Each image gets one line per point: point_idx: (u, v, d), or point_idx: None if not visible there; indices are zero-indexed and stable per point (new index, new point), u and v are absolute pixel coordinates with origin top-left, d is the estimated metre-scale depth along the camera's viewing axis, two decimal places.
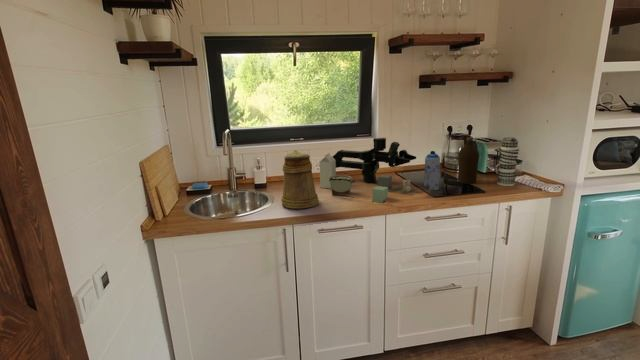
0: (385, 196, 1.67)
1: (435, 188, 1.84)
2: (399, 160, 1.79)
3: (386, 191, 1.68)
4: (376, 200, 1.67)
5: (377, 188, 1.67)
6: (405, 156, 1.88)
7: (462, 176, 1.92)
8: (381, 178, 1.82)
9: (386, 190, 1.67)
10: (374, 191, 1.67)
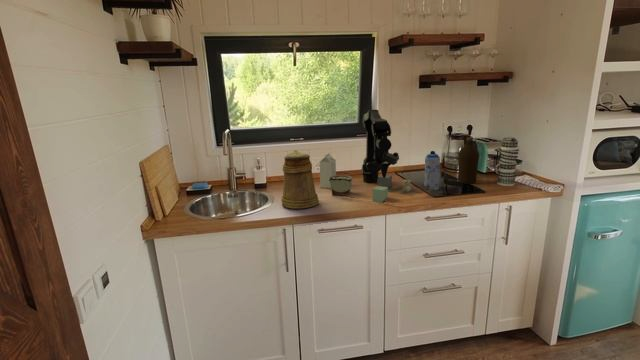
0: (385, 196, 1.67)
1: (435, 188, 1.84)
2: (375, 171, 1.61)
3: (386, 191, 1.68)
4: (376, 200, 1.67)
5: (377, 188, 1.67)
6: (384, 165, 1.69)
7: (462, 176, 1.92)
8: (381, 178, 1.82)
9: (386, 190, 1.67)
10: (374, 191, 1.67)
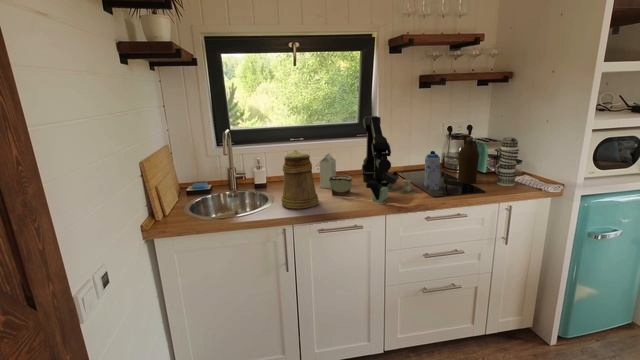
0: (385, 196, 1.67)
1: (435, 188, 1.84)
2: (376, 189, 1.64)
3: (386, 191, 1.68)
4: (376, 200, 1.67)
5: None
6: (383, 184, 1.70)
7: (462, 176, 1.92)
8: None
9: (386, 190, 1.67)
10: None
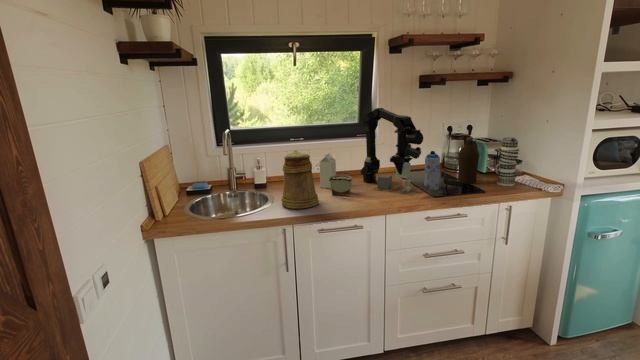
0: (408, 171, 1.73)
1: (435, 188, 1.84)
2: (399, 164, 1.70)
3: (409, 166, 1.73)
4: (399, 175, 1.73)
5: None
6: (405, 160, 1.76)
7: (462, 176, 1.92)
8: (381, 178, 1.82)
9: (409, 165, 1.73)
10: None
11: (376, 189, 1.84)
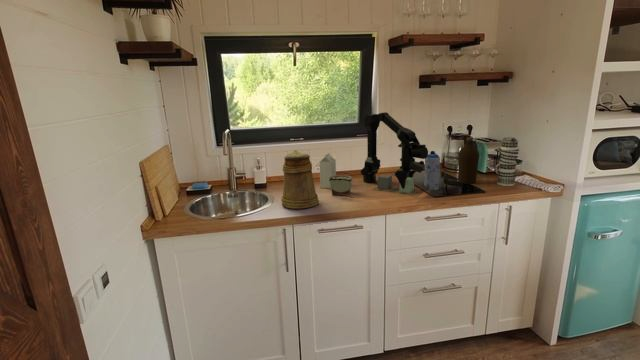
0: (411, 186, 1.76)
1: (435, 188, 1.84)
2: (402, 178, 1.72)
3: (412, 181, 1.77)
4: (403, 190, 1.77)
5: None
6: (410, 172, 1.81)
7: (462, 176, 1.92)
8: (381, 178, 1.82)
9: (412, 180, 1.77)
10: None
11: (376, 189, 1.84)
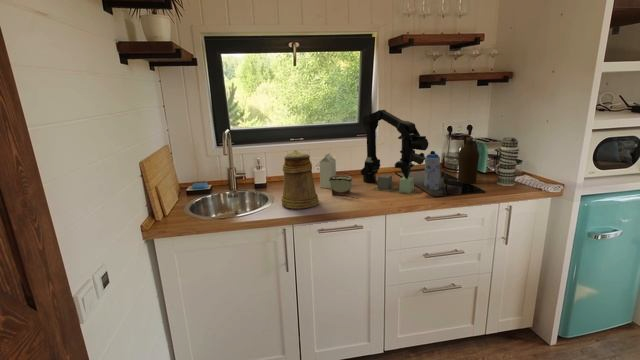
0: (411, 186, 1.76)
1: (435, 188, 1.84)
2: (406, 169, 1.75)
3: (412, 181, 1.77)
4: (403, 190, 1.77)
5: (404, 178, 1.77)
6: None
7: (462, 176, 1.92)
8: (381, 178, 1.82)
9: (412, 180, 1.77)
10: (401, 181, 1.76)
11: (376, 189, 1.84)
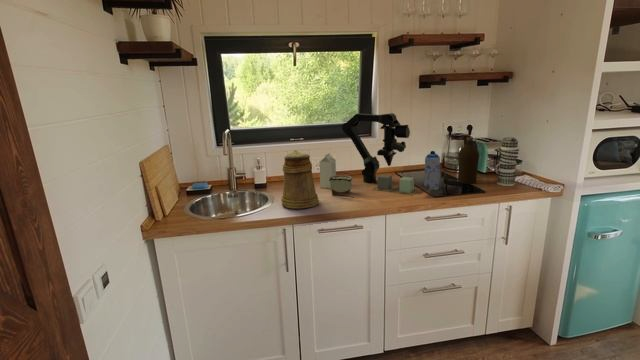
0: (411, 186, 1.76)
1: (435, 188, 1.84)
2: (388, 156, 1.87)
3: (412, 181, 1.77)
4: (403, 190, 1.77)
5: (404, 178, 1.77)
6: None
7: (462, 176, 1.92)
8: (381, 178, 1.82)
9: (412, 180, 1.77)
10: (401, 181, 1.76)
11: (376, 189, 1.84)
